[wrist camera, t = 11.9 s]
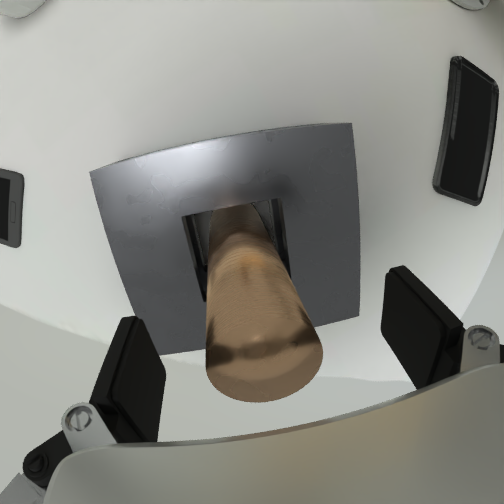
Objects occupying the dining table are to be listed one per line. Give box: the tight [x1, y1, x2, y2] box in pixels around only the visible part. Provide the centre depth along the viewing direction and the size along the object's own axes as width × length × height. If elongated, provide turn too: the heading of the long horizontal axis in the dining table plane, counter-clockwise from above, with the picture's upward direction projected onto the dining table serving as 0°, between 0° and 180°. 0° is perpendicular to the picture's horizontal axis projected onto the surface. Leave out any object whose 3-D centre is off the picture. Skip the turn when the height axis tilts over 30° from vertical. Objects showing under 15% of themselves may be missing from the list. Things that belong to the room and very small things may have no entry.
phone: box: [432, 56, 499, 206], centre depth 23 cm, size 8×1×15 cm
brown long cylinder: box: [206, 203, 323, 402], centre depth 17 cm, size 4×4×16 cm
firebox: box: [89, 123, 360, 355], centre depth 22 cm, size 16×14×6 cm
